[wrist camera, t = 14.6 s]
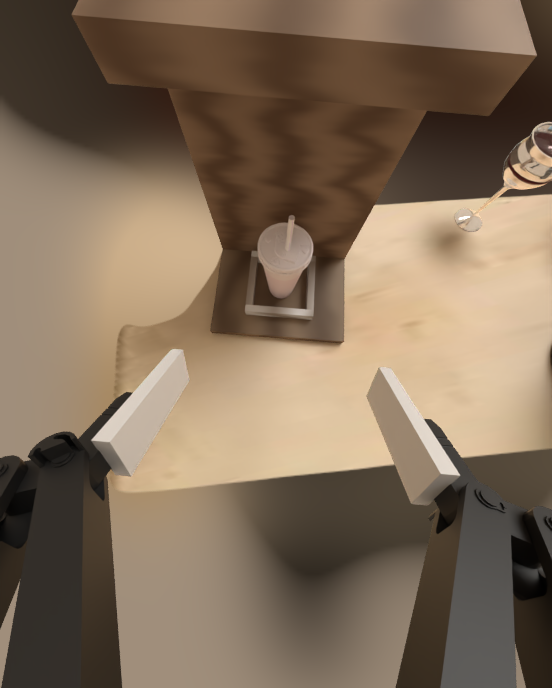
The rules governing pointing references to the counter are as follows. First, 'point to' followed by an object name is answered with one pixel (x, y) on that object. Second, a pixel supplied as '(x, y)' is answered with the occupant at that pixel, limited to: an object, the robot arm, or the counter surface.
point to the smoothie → (284, 255)
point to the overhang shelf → (303, 117)
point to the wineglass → (519, 171)
